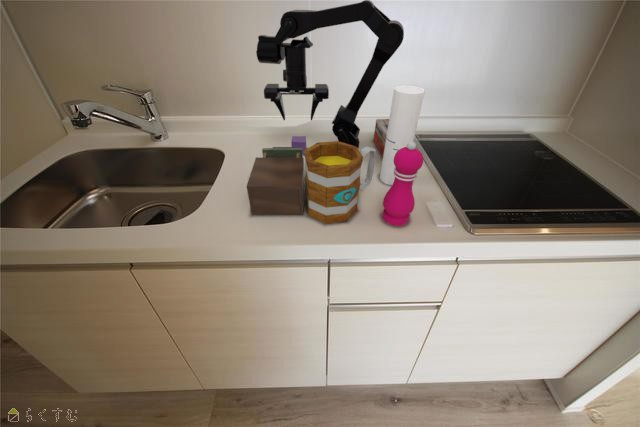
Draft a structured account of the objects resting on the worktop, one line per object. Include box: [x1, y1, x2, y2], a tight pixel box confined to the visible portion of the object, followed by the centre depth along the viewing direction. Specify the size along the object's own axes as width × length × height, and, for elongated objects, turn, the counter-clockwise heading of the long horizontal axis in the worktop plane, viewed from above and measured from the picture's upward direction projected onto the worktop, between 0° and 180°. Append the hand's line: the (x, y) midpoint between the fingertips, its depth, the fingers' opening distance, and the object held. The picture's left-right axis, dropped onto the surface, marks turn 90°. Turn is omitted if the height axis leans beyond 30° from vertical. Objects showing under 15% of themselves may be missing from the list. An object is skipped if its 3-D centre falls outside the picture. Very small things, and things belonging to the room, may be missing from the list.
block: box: [291, 135, 307, 156], centre depth 96 cm, size 5×5×5 cm
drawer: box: [261, 146, 304, 158], centre depth 81 cm, size 17×11×7 cm, turn 1°
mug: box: [304, 140, 377, 225], centre depth 70 cm, size 20×14×15 cm
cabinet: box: [246, 157, 305, 216], centre depth 73 cm, size 14×13×9 cm
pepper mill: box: [382, 141, 424, 227], centre depth 64 cm, size 7×7×20 cm
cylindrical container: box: [379, 84, 426, 186], centre depth 76 cm, size 7×7×25 cm
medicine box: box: [373, 118, 389, 157], centre depth 96 cm, size 15×8×8 cm, turn 6°
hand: (297, 119), depth 90 cm, fingers open, 8 cm apart
